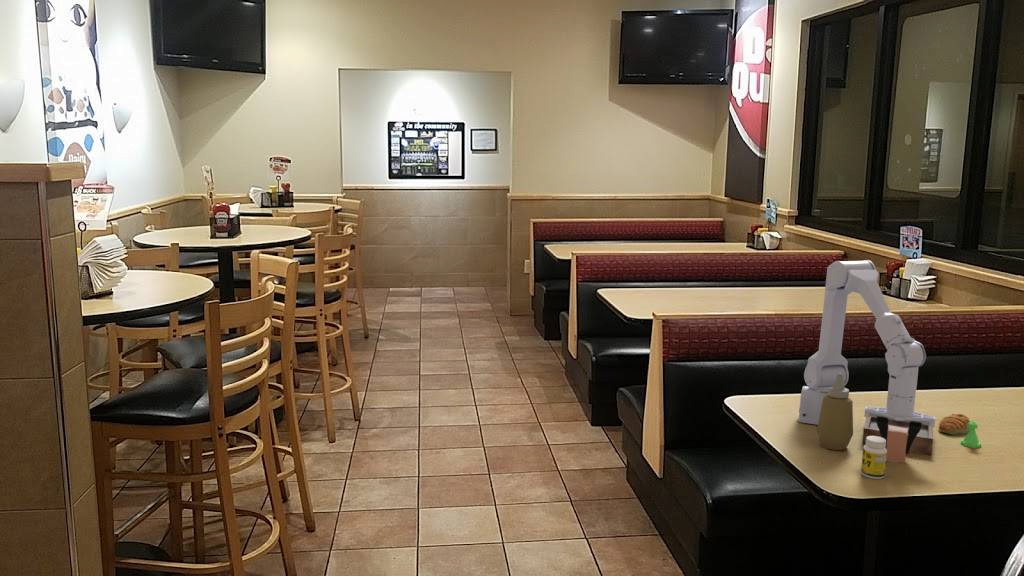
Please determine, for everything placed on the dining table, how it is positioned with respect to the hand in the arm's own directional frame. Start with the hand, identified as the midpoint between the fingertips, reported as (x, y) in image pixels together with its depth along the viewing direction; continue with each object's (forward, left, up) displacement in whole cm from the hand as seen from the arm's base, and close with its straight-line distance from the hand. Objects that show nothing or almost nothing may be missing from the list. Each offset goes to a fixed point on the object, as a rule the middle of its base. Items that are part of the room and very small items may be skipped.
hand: (895, 450), depth 188 cm
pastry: (+13, +29, -2) cm, 32 cm away
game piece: (+16, +19, -2) cm, 25 cm away
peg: (0, 0, -2) cm, 2 cm away
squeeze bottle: (-13, +1, -2) cm, 14 cm away
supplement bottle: (-4, -13, -2) cm, 14 cm away
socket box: (0, +14, -2) cm, 14 cm away
